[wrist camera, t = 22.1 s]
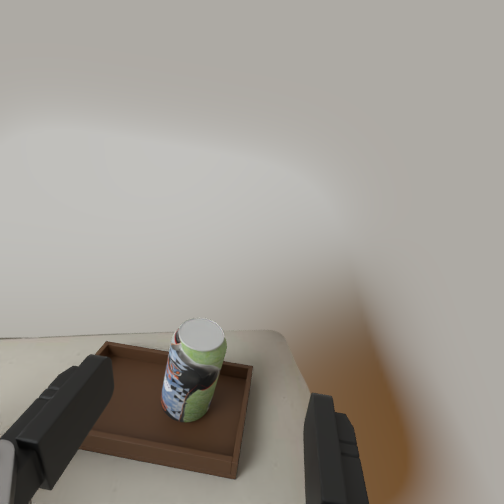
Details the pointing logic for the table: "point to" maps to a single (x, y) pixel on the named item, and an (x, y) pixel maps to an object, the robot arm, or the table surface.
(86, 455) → the table surface
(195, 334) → the beverage can
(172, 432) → the serving tray
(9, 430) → the robot arm
